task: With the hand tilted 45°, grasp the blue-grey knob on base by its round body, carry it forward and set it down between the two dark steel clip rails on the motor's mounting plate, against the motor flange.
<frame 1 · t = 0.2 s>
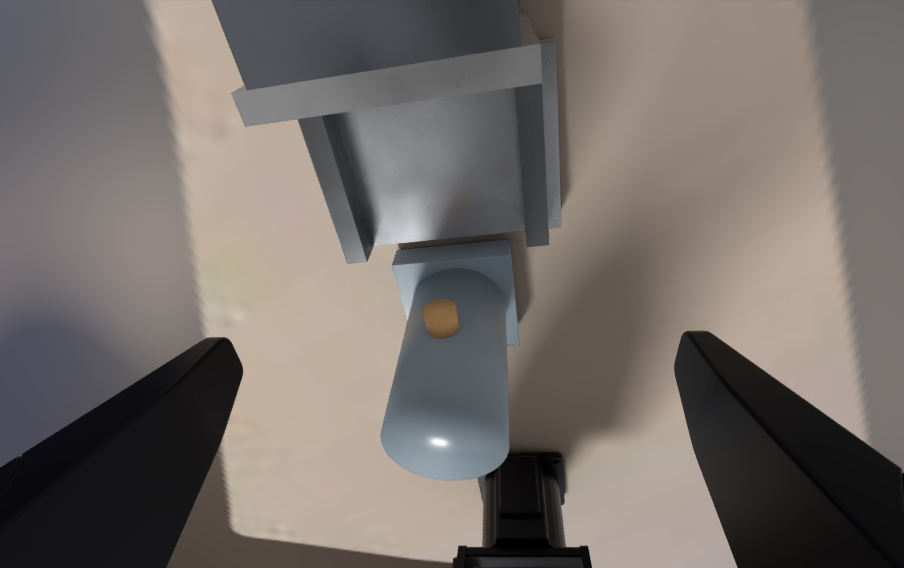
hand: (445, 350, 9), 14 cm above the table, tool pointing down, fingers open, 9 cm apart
blue-grey knob on base: (460, 290, 26), on the table
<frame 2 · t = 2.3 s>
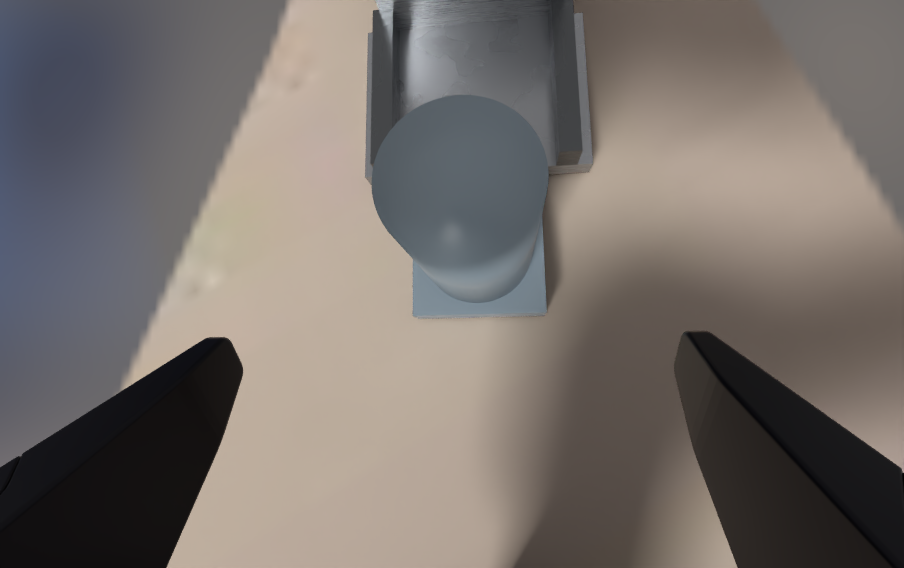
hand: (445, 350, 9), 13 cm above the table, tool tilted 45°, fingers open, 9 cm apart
blue-grey knob on base: (479, 256, 23), on the table
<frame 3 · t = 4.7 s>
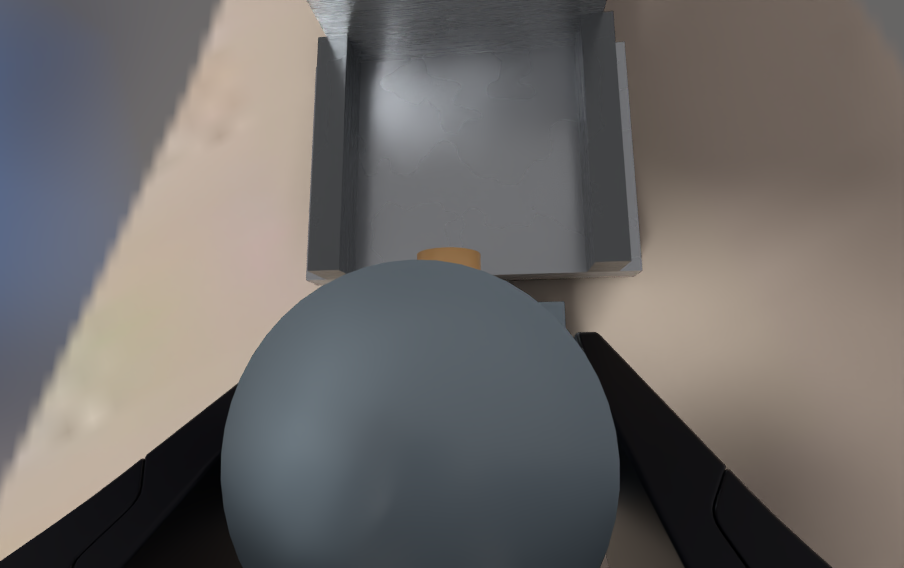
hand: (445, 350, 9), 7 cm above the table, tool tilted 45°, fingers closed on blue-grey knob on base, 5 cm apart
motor: (466, 13, 18), on the table
blue-grey knob on base: (471, 398, 16), on the table, touching gripper
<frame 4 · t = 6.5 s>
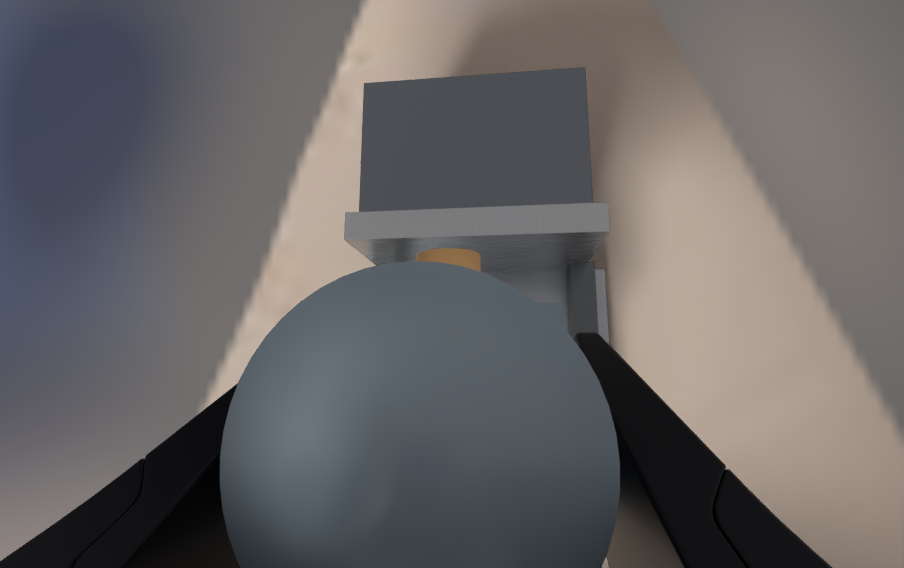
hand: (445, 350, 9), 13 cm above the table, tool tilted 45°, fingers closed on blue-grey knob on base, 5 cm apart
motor: (482, 226, 23), on the table
blue-grey knob on base: (471, 399, 16), point 6 cm above the table, touching gripper
when the fingers open (9 cm above the table, at t = 8.2 s): blue-grey knob on base drops 1 cm, resting on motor.
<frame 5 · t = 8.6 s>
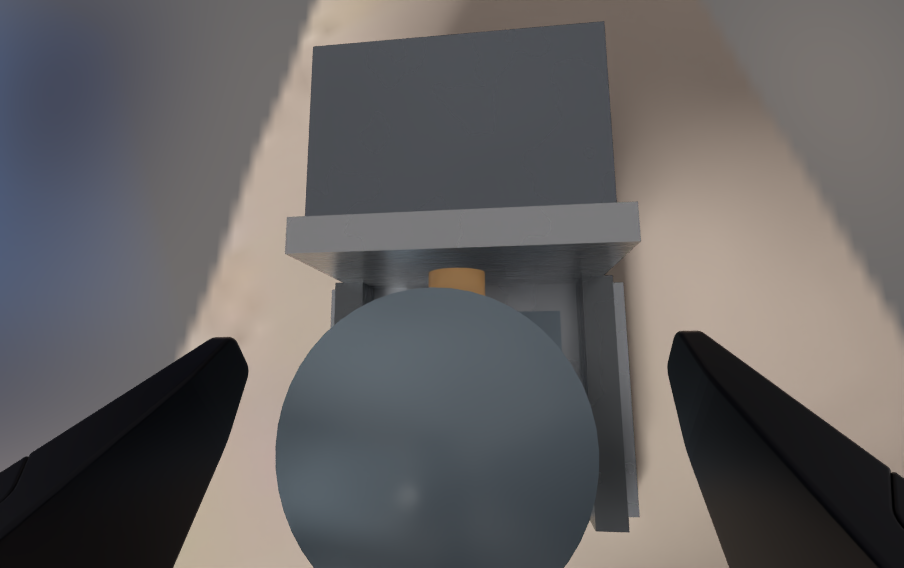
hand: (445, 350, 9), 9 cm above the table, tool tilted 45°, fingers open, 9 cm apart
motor: (473, 229, 19), on the table
blue-grey knob on base: (475, 399, 17), point 1 cm above the table, touching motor
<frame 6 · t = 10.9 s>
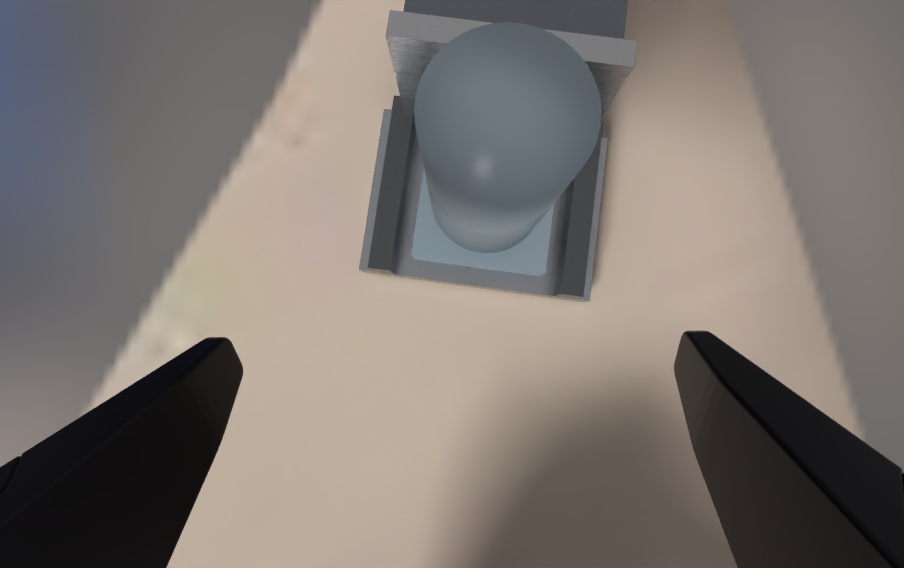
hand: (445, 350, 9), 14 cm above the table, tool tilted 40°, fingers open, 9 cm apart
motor: (500, 85, 24), on the table
blue-grey knob on base: (484, 206, 22), point 1 cm above the table, touching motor
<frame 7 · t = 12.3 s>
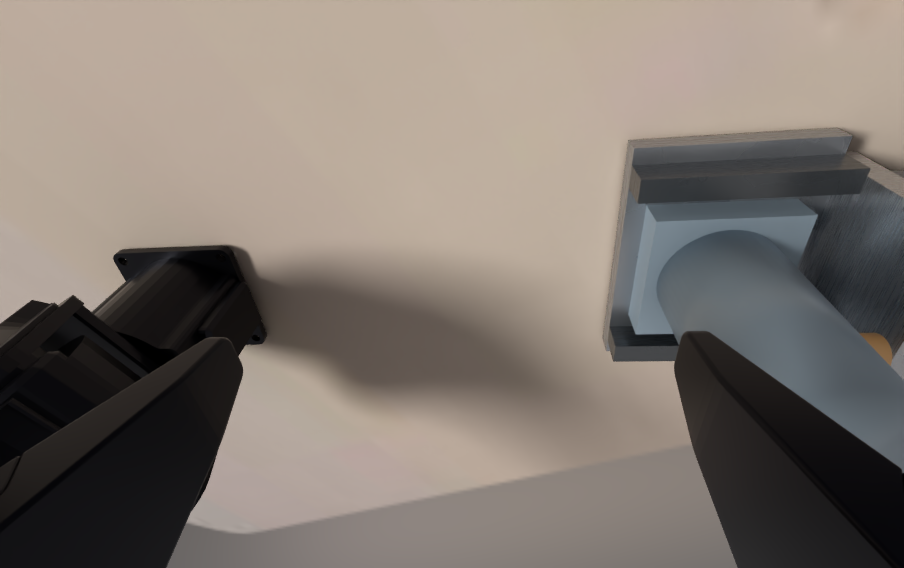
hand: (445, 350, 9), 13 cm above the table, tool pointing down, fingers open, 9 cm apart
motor: (850, 245, 21), on the table
blue-grey knob on base: (704, 262, 21), point 1 cm above the table, touching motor
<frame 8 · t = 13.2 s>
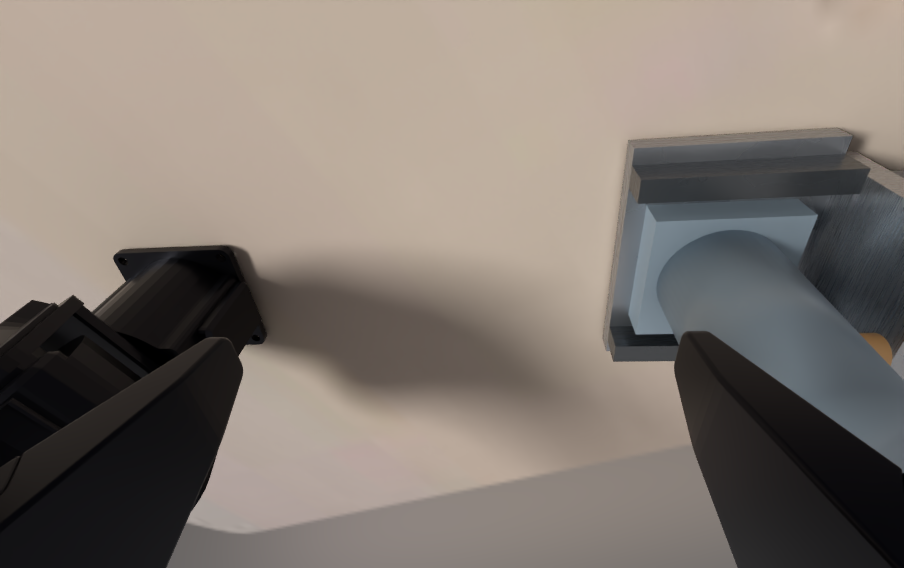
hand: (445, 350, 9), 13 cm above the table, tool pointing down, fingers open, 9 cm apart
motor: (850, 245, 21), on the table
blue-grey knob on base: (704, 262, 21), point 1 cm above the table, touching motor
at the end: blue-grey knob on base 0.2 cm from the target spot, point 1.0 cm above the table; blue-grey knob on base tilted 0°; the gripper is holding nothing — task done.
